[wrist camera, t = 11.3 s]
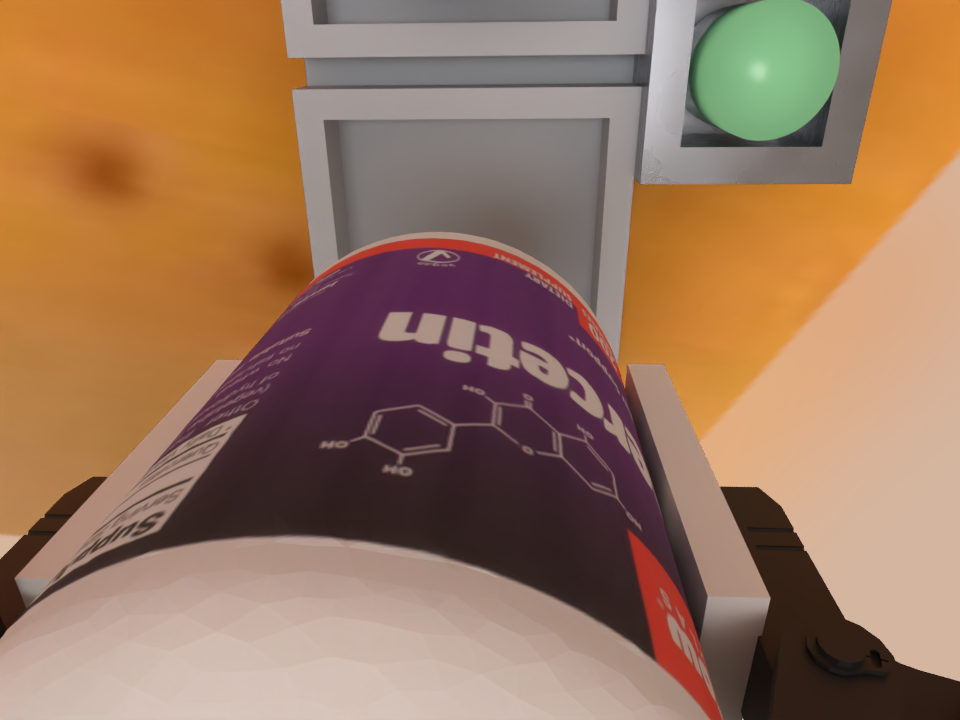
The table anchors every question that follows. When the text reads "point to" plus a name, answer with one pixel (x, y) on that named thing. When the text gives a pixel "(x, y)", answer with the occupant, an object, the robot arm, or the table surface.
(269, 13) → the table surface
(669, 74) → the grey square open box
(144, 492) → the pill bottle
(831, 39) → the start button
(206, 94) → the table surface
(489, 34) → the grey compartment tray
